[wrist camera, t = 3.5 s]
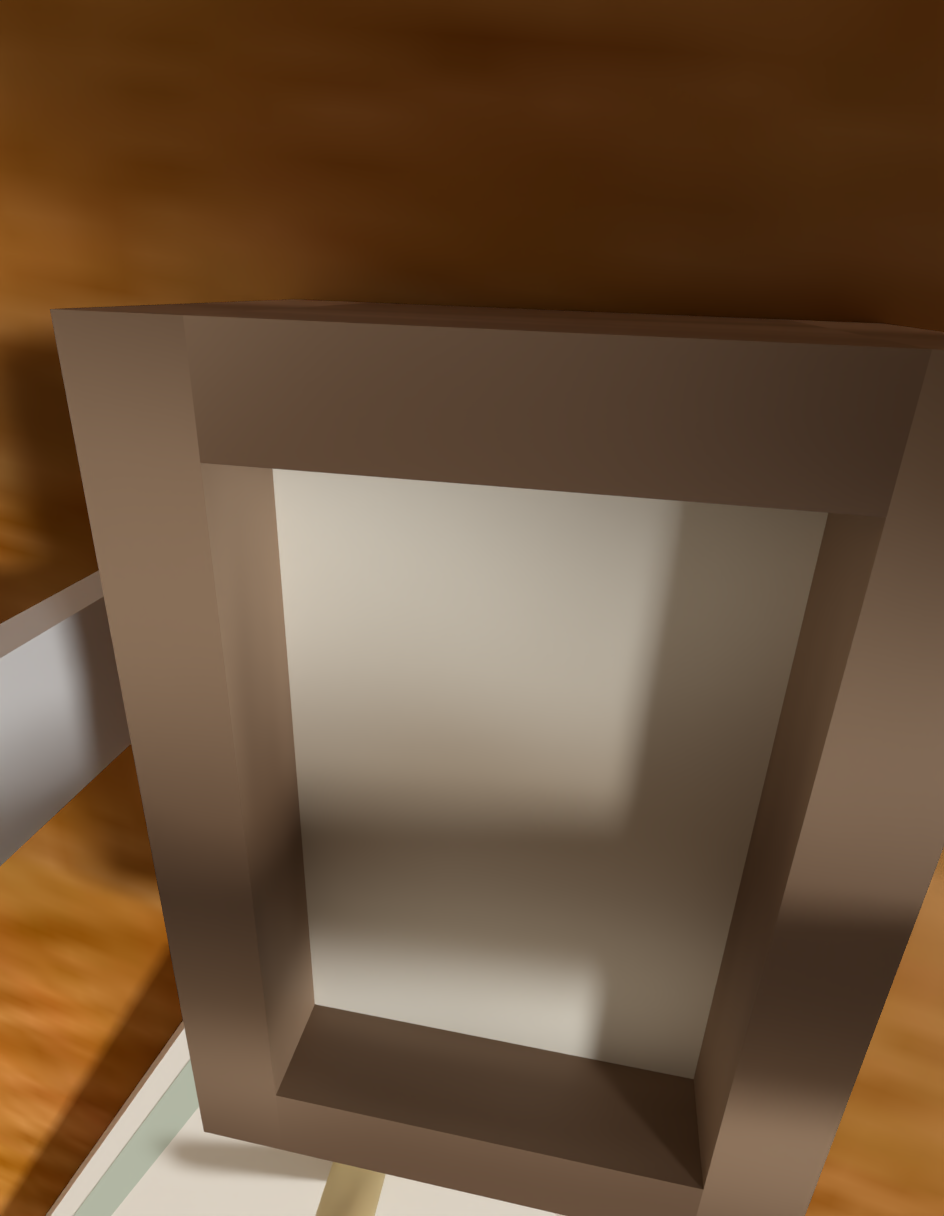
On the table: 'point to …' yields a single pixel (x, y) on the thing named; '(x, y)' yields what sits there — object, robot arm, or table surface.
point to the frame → (526, 725)
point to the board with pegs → (232, 1167)
